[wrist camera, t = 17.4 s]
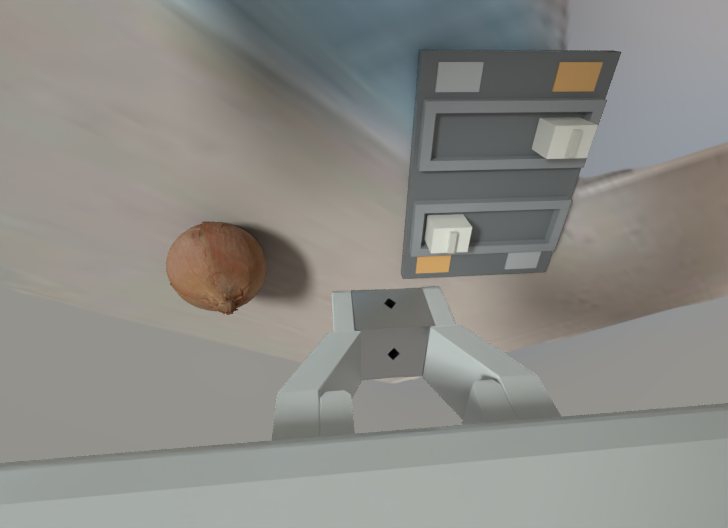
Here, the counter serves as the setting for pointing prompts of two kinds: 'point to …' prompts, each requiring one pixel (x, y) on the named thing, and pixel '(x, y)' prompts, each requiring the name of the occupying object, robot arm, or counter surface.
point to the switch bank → (496, 154)
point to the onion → (216, 266)
